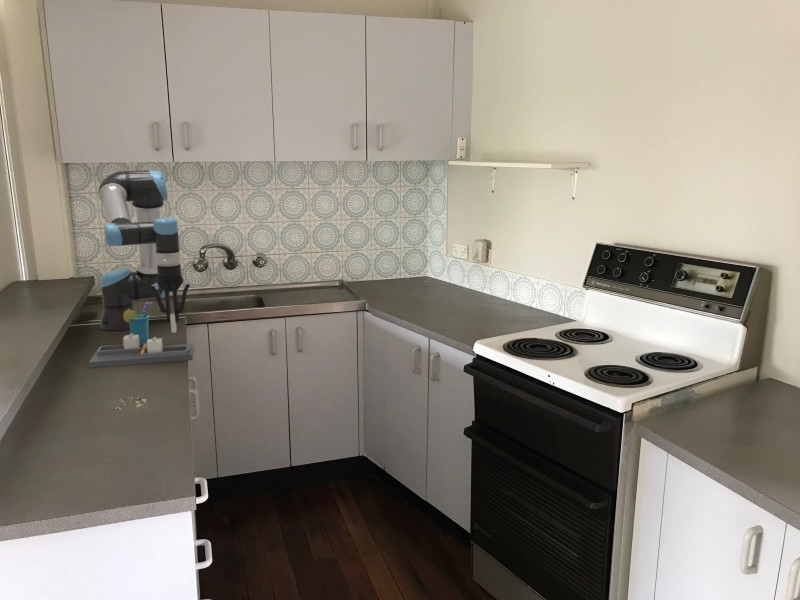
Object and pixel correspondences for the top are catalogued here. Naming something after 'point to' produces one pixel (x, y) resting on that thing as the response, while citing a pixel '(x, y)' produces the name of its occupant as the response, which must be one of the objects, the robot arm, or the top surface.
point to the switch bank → (140, 355)
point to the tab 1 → (131, 341)
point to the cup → (138, 323)
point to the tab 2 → (154, 345)
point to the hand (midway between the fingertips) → (174, 331)
